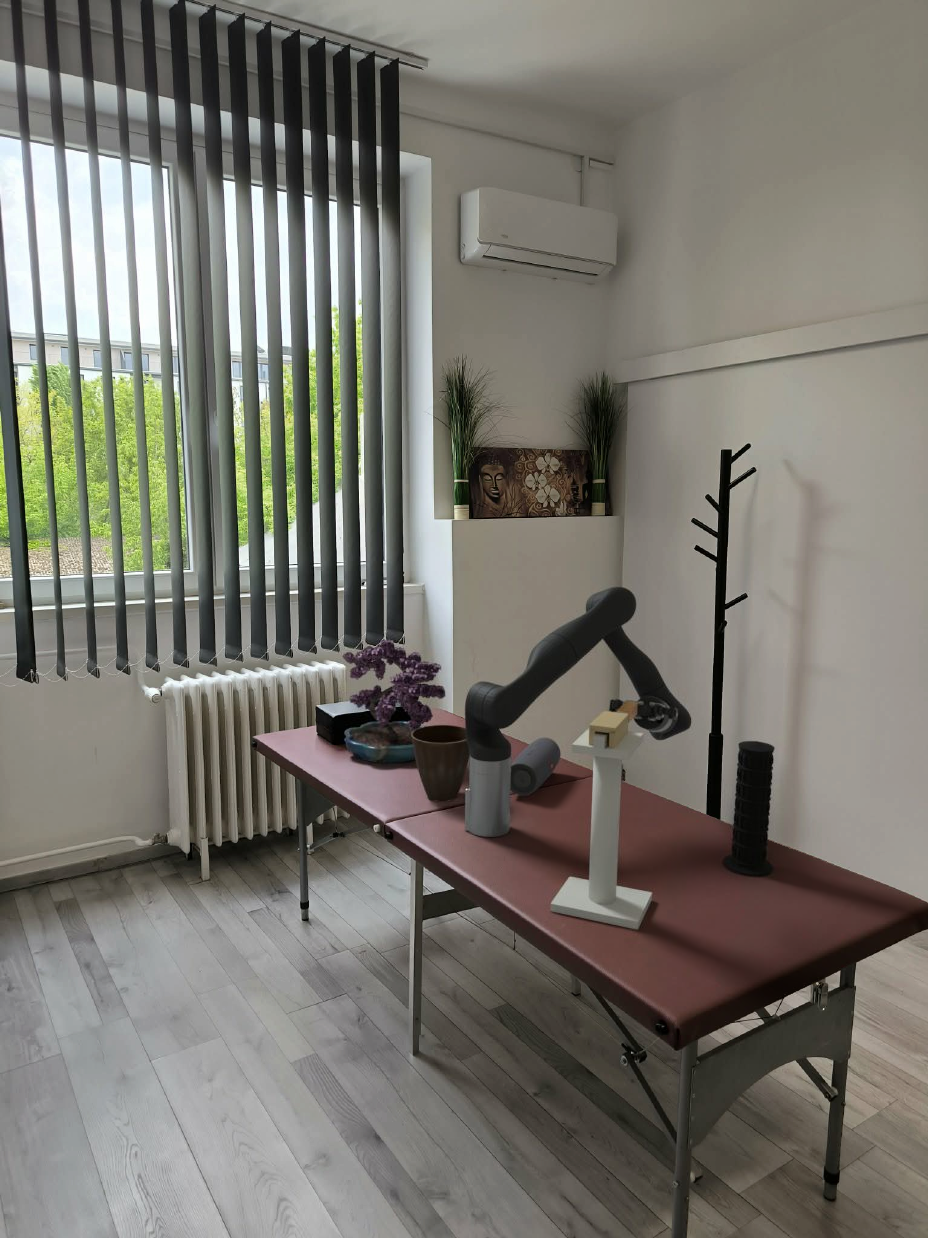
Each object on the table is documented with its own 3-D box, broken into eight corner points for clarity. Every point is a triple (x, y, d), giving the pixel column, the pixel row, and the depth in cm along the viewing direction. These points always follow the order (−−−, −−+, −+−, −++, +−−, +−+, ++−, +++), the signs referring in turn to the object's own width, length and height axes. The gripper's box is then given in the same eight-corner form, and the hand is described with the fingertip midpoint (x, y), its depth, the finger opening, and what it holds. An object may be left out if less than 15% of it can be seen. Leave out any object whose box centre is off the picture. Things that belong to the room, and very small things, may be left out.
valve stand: (550, 911, 163) (556, 722, 157) (569, 883, 174) (575, 706, 168) (637, 929, 157) (647, 733, 151) (651, 900, 167) (661, 716, 161)
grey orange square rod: (592, 748, 154) (592, 735, 153) (625, 712, 176) (626, 701, 176) (605, 749, 153) (605, 736, 153) (637, 714, 176) (637, 702, 175)
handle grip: (773, 880, 176) (774, 859, 186) (783, 751, 172) (783, 737, 181) (721, 872, 179) (724, 852, 189) (729, 745, 175) (731, 731, 184)
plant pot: (450, 812, 209) (451, 746, 206) (399, 799, 217) (399, 735, 214) (483, 793, 221) (484, 731, 219) (433, 781, 229) (433, 721, 226)
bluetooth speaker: (539, 803, 215) (540, 763, 214) (502, 798, 218) (503, 759, 217) (562, 774, 236) (563, 737, 235) (528, 769, 239) (529, 733, 238)
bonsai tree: (325, 745, 258) (324, 634, 252) (409, 732, 271) (410, 627, 266) (377, 782, 228) (376, 657, 223) (468, 766, 242) (470, 648, 236)
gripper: (624, 695, 207) (605, 685, 193) (686, 701, 201) (671, 692, 186) (620, 727, 206) (601, 719, 191) (682, 735, 200) (667, 728, 185)
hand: (635, 706), depth 189 cm, fingers open, 8 cm apart
